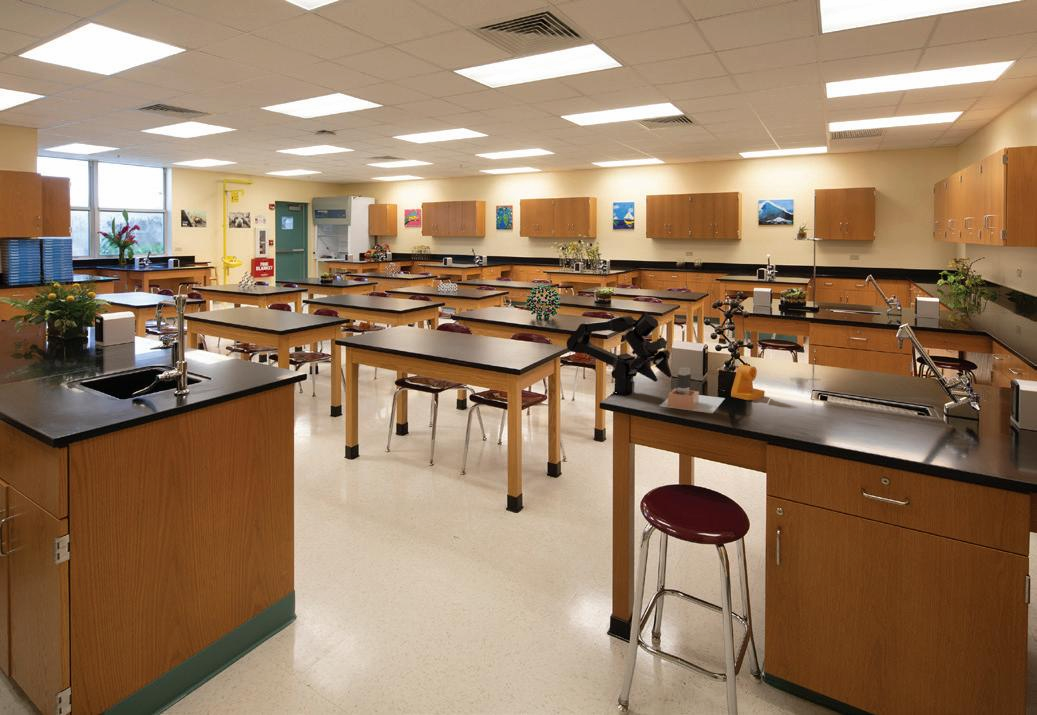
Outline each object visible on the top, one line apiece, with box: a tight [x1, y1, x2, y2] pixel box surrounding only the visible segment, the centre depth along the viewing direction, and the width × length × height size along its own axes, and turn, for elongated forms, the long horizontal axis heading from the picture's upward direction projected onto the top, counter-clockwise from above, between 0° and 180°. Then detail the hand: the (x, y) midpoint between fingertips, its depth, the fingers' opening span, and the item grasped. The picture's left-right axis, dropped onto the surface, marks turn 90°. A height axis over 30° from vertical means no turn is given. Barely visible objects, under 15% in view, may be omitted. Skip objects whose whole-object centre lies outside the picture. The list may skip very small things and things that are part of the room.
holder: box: [667, 388, 700, 411], centre depth 205 cm, size 8×8×4 cm
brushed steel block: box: [676, 366, 692, 396], centre depth 204 cm, size 4×4×12 cm
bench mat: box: [658, 394, 726, 414], centre depth 209 cm, size 18×22×1 cm
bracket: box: [730, 364, 766, 401], centre depth 215 cm, size 11×7×12 cm, turn 127°
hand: (663, 379), depth 209 cm, fingers open, 9 cm apart
